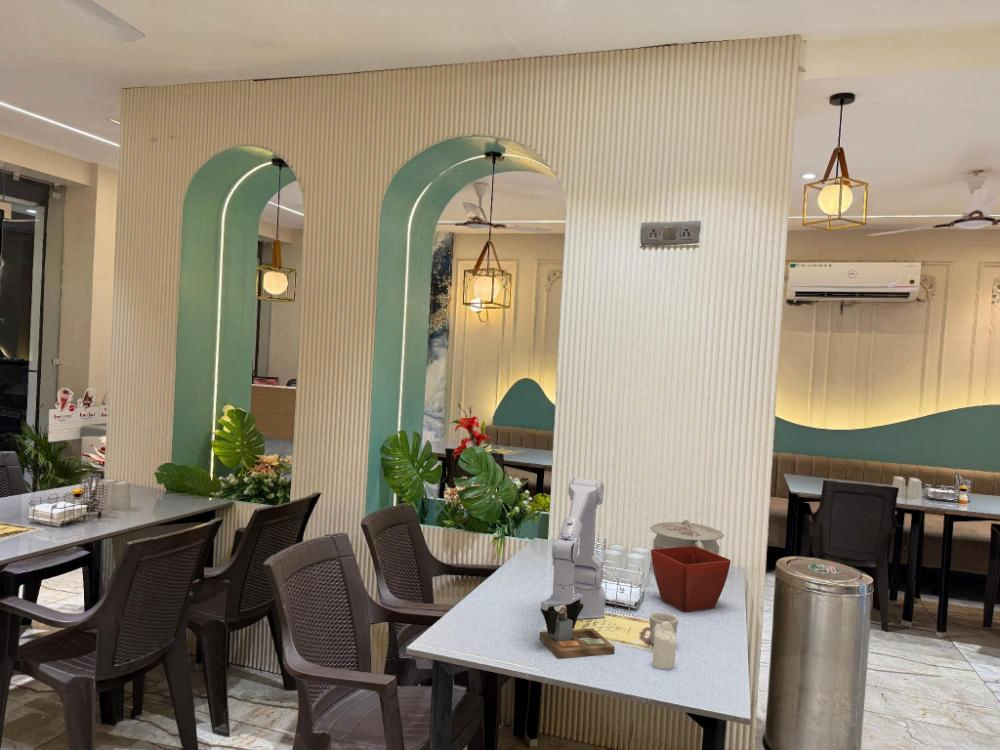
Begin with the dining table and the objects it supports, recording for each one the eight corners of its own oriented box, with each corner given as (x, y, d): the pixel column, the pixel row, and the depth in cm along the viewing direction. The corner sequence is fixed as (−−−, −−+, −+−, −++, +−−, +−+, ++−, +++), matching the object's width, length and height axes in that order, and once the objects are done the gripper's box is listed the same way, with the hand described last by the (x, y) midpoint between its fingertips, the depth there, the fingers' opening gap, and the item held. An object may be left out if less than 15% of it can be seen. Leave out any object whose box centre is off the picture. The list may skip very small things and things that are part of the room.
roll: (669, 615, 201) (682, 623, 196) (666, 659, 201) (679, 668, 196) (650, 618, 198) (663, 625, 193) (648, 662, 199) (660, 671, 193)
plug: (561, 640, 212) (563, 610, 212) (571, 645, 208) (573, 615, 208) (549, 642, 209) (550, 612, 209) (558, 648, 206) (560, 617, 205)
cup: (667, 655, 204) (669, 627, 204) (640, 648, 208) (641, 620, 208) (680, 644, 213) (682, 616, 213) (653, 637, 217) (655, 610, 217)
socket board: (592, 635, 217) (593, 626, 217) (614, 653, 203) (614, 644, 203) (539, 639, 212) (539, 630, 211) (558, 658, 198) (558, 649, 198)
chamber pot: (665, 559, 304) (667, 509, 304) (731, 574, 288) (734, 520, 288) (635, 574, 281) (638, 519, 281) (705, 590, 265) (708, 532, 265)
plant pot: (682, 617, 236) (685, 564, 236) (646, 598, 253) (649, 548, 253) (729, 611, 244) (732, 560, 243) (692, 593, 261) (694, 545, 261)
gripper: (571, 575, 216) (569, 621, 216) (534, 582, 207) (532, 631, 207) (589, 581, 210) (586, 629, 211) (551, 589, 201) (549, 639, 202)
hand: (560, 630), depth 209 cm, fingers open, 7 cm apart
